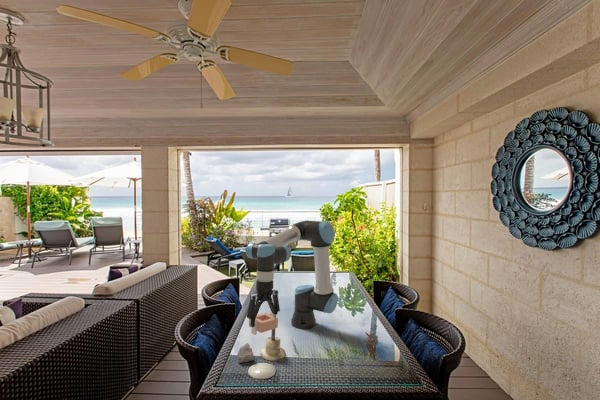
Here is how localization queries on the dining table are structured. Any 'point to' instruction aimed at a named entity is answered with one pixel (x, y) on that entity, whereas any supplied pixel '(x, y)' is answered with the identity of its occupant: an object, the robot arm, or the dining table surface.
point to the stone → (245, 354)
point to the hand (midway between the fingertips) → (263, 330)
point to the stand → (272, 348)
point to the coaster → (262, 371)
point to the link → (265, 322)
